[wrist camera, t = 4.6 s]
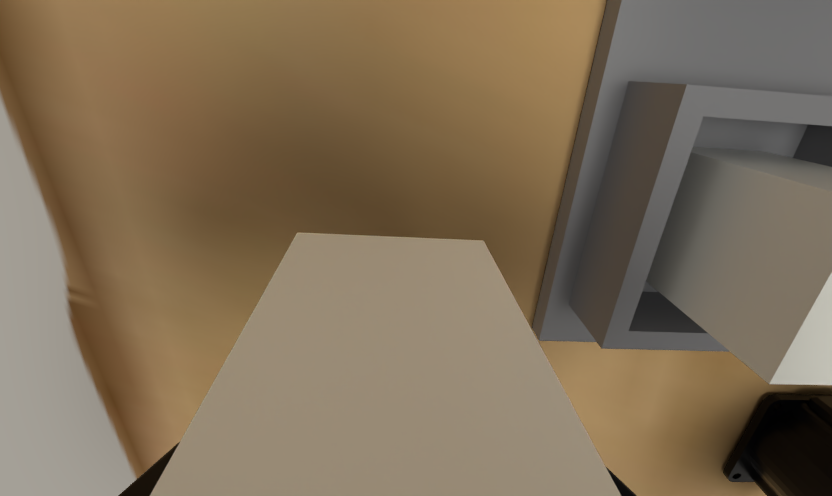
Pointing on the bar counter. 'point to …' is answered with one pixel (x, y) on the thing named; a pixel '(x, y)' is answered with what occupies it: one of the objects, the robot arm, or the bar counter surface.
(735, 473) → the robot arm
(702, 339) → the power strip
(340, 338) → the plug
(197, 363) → the bar counter surface
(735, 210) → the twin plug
